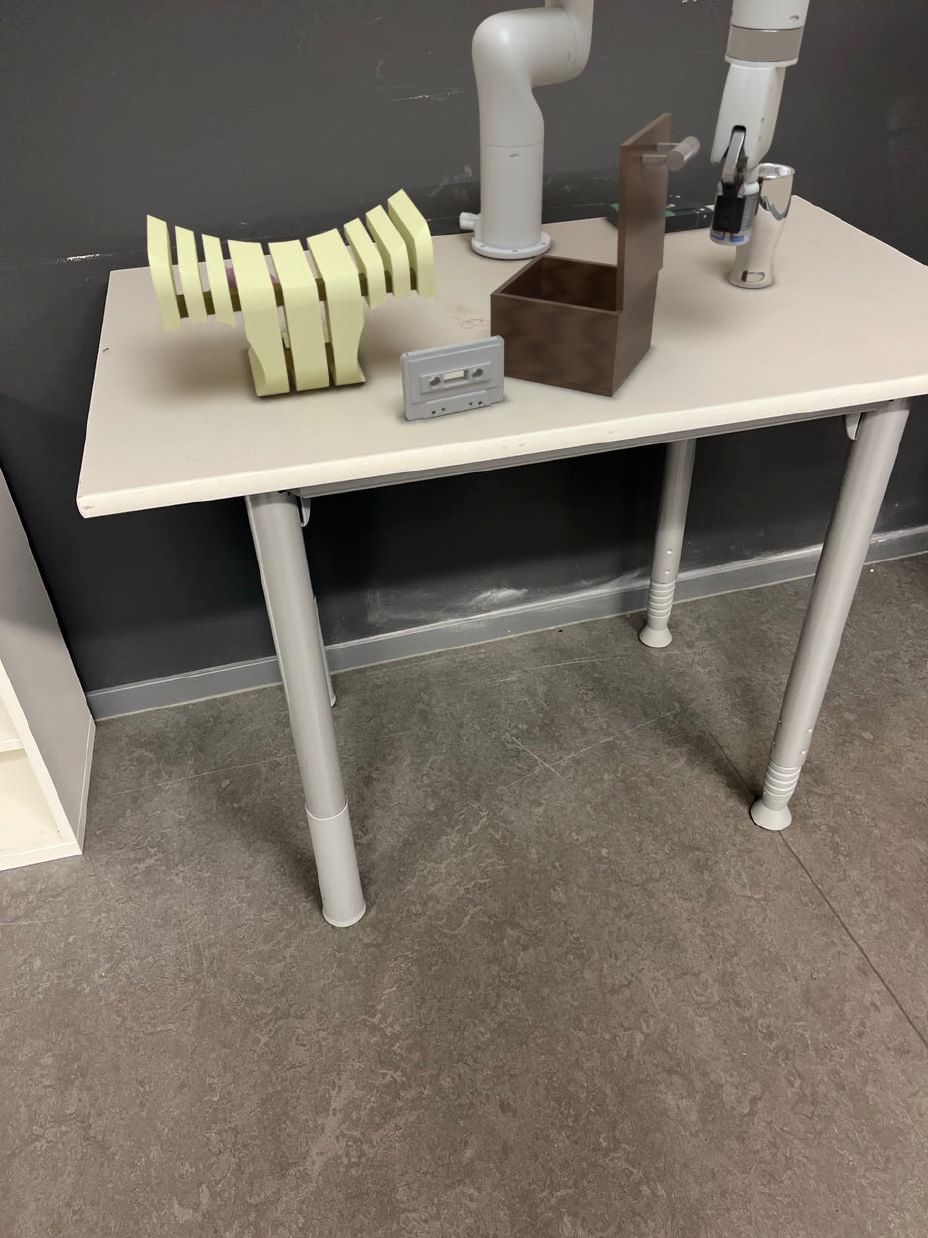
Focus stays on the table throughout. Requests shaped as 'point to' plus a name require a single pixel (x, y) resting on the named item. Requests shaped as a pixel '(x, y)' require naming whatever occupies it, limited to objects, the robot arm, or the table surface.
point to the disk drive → (675, 213)
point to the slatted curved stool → (298, 291)
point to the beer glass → (764, 227)
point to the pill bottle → (749, 212)
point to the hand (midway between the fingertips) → (732, 222)
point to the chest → (571, 324)
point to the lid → (645, 203)
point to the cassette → (454, 392)
